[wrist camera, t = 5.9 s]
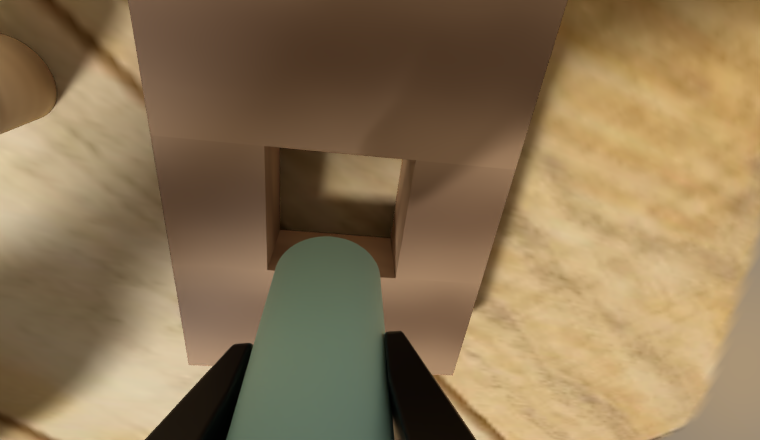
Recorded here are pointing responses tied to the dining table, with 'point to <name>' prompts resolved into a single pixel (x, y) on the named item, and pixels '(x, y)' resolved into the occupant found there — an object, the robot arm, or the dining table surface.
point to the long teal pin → (318, 350)
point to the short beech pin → (23, 85)
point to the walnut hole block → (337, 143)
